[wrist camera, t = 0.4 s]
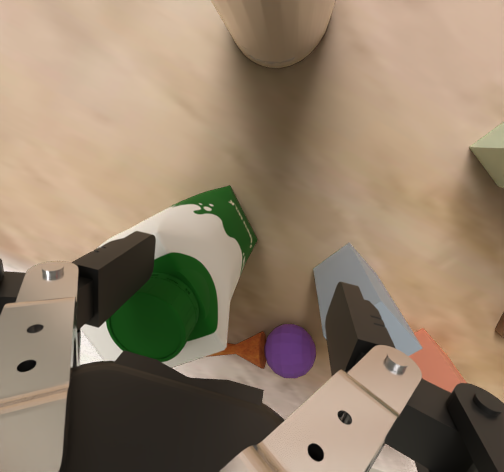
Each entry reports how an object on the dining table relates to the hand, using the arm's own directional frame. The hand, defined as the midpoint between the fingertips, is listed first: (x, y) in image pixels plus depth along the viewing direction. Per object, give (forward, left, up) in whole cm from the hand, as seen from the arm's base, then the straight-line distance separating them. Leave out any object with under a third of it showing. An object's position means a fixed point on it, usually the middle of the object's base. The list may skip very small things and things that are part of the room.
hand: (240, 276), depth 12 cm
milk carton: (+5, -6, -20) cm, 21 cm away
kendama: (+20, -2, -20) cm, 28 cm away
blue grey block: (+8, +9, -20) cm, 23 cm away
